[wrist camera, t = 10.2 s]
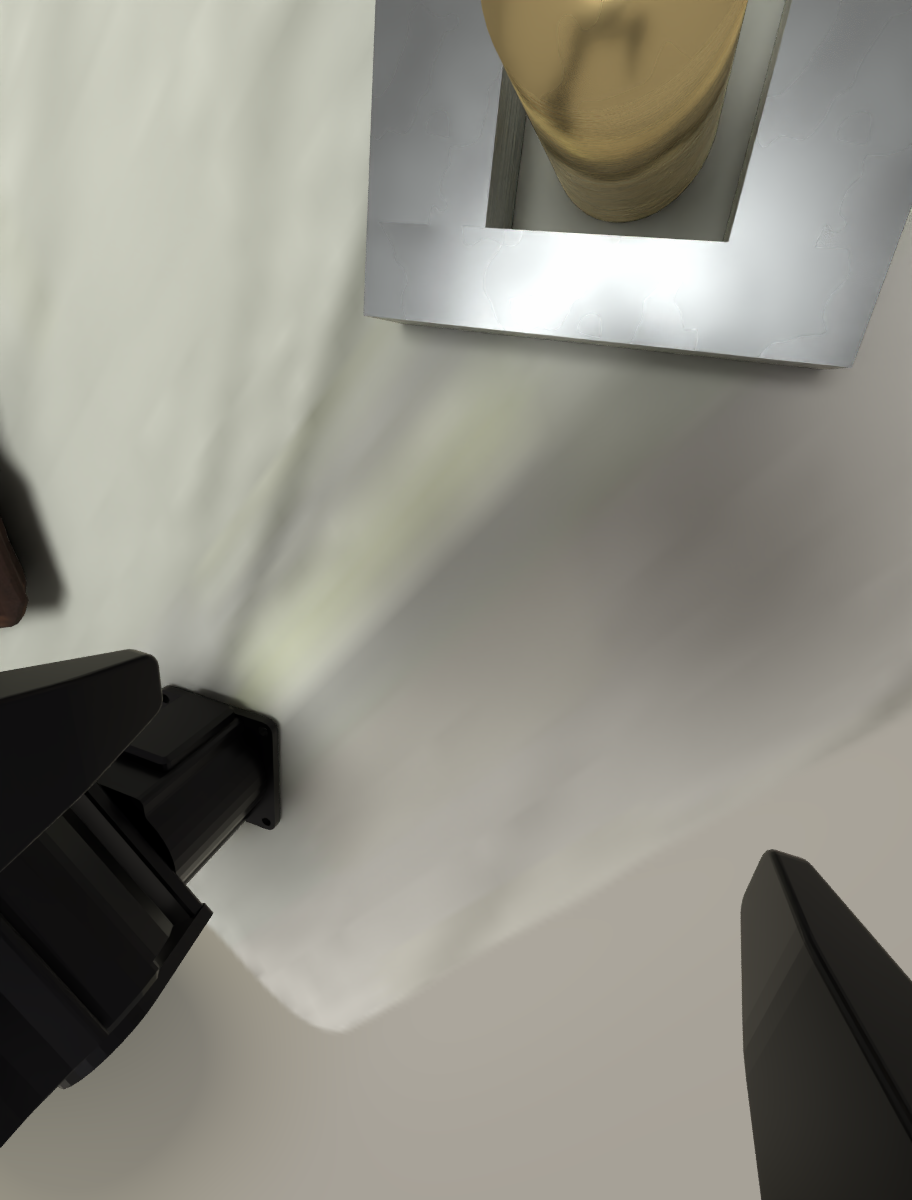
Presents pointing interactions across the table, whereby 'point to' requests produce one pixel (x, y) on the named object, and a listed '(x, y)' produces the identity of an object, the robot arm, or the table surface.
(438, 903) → the table surface
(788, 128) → the metal square frame
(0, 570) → the dark brown rounded lump
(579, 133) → the tan rectangular block
